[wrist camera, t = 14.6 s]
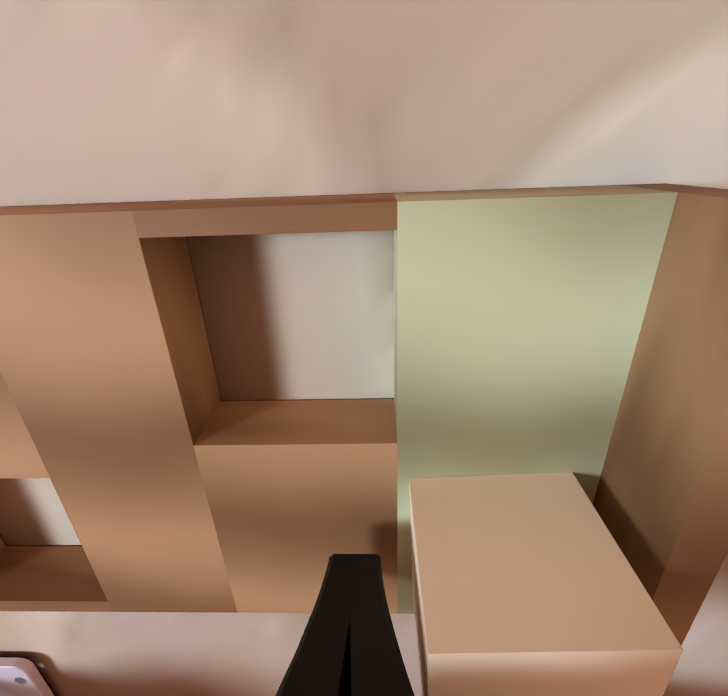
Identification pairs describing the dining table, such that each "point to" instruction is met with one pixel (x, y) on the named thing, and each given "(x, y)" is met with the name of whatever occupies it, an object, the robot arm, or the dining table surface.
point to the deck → (365, 416)
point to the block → (528, 593)
